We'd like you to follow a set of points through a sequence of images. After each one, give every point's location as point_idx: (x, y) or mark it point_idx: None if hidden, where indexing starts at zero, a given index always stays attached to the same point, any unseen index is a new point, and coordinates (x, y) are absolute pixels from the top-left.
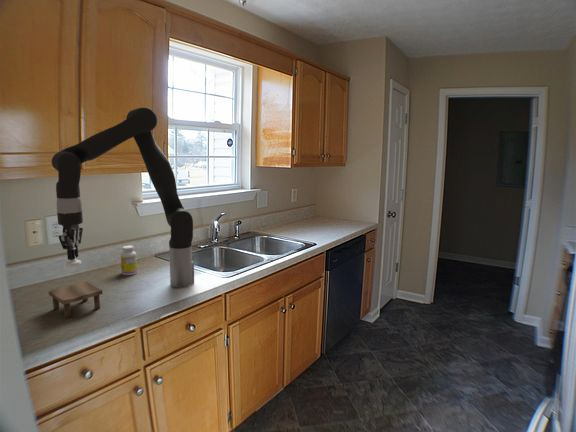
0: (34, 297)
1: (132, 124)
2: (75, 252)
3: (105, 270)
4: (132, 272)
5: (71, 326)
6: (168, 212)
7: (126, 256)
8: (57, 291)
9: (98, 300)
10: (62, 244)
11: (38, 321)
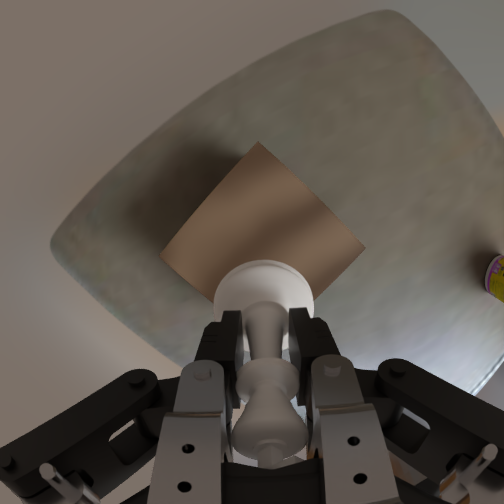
0: (349, 62)
1: None
2: (293, 361)
3: None
4: (488, 290)
5: (148, 274)
6: None
7: None
8: (252, 181)
9: None
10: (79, 414)
11: (171, 165)
